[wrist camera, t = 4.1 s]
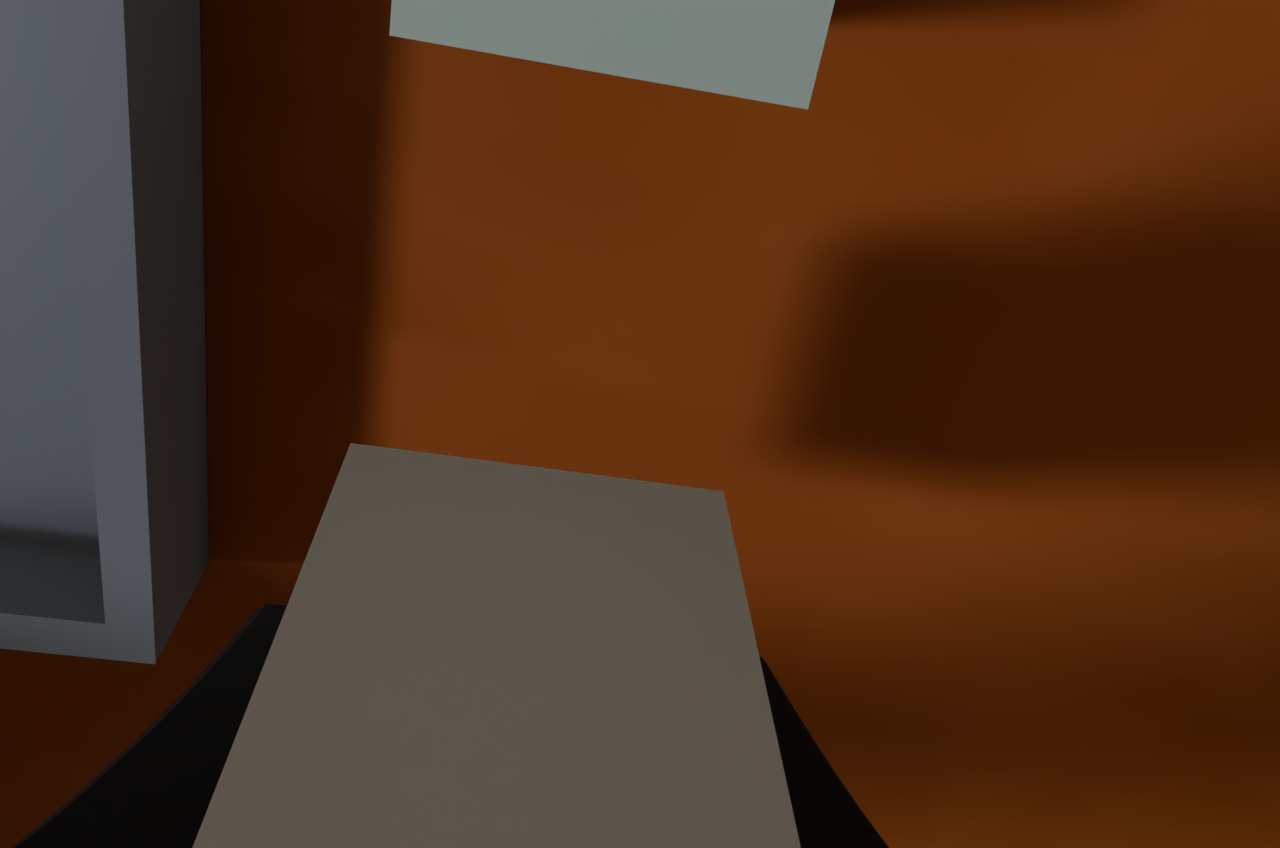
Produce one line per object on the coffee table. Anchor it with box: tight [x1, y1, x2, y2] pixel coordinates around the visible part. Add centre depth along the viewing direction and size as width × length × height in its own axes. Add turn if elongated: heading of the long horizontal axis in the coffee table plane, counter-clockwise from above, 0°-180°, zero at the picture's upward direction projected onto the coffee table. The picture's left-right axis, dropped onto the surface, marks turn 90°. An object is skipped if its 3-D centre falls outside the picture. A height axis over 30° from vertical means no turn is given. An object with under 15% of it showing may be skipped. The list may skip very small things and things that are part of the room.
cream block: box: [192, 443, 801, 848], centre depth 11 cm, size 4×4×6 cm
